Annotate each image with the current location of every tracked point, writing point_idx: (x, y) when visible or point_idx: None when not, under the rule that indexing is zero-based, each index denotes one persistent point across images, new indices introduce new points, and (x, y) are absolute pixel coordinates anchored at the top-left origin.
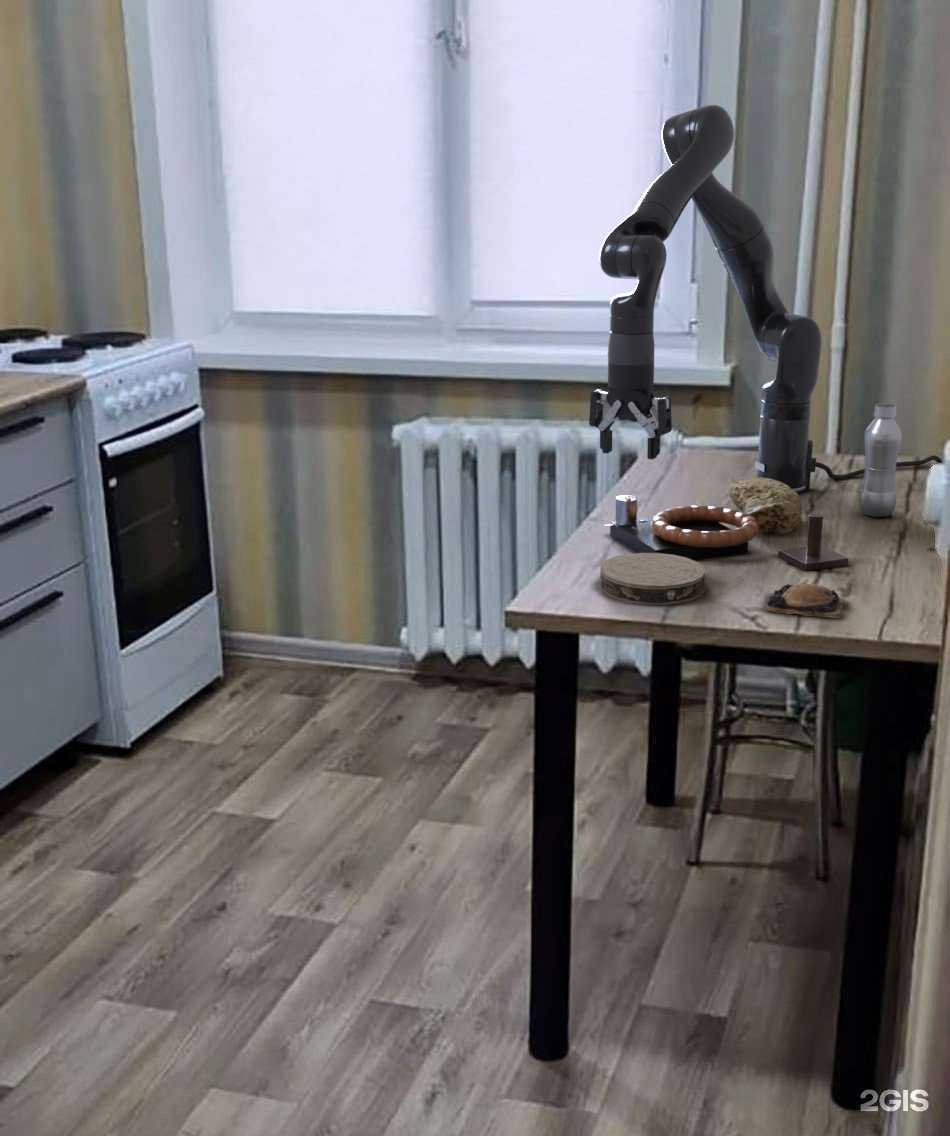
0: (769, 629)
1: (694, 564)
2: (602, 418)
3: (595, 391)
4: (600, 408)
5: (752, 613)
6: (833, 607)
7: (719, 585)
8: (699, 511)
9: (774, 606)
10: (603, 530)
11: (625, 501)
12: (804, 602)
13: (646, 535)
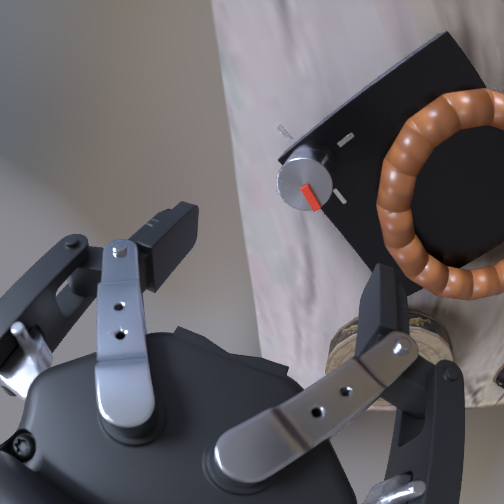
0: (480, 404)
1: (443, 355)
2: (77, 256)
3: (2, 388)
4: (50, 313)
5: (479, 385)
6: None
7: (469, 336)
8: (475, 126)
9: (499, 382)
10: (260, 120)
11: (308, 210)
12: None
13: (371, 233)
